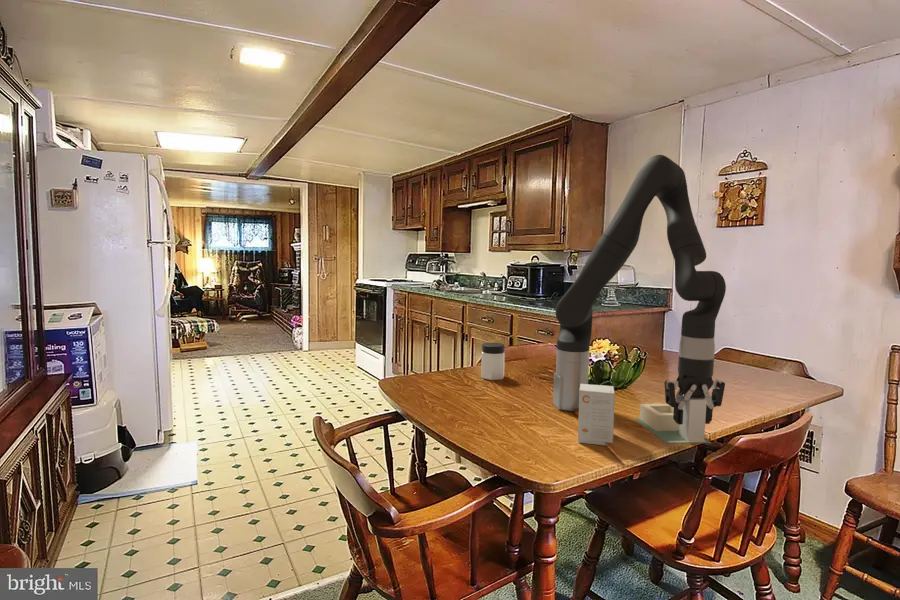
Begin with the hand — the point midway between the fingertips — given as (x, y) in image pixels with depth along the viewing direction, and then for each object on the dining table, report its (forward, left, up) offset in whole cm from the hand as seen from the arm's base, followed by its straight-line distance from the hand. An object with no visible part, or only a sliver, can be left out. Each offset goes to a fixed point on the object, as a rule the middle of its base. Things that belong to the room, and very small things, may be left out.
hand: (692, 422), depth 116 cm
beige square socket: (-2, +9, -4) cm, 10 cm away
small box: (-23, +2, -5) cm, 24 cm away
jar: (-39, +61, -5) cm, 73 cm away
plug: (0, 0, -4) cm, 4 cm away
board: (-3, +5, -5) cm, 7 cm away
